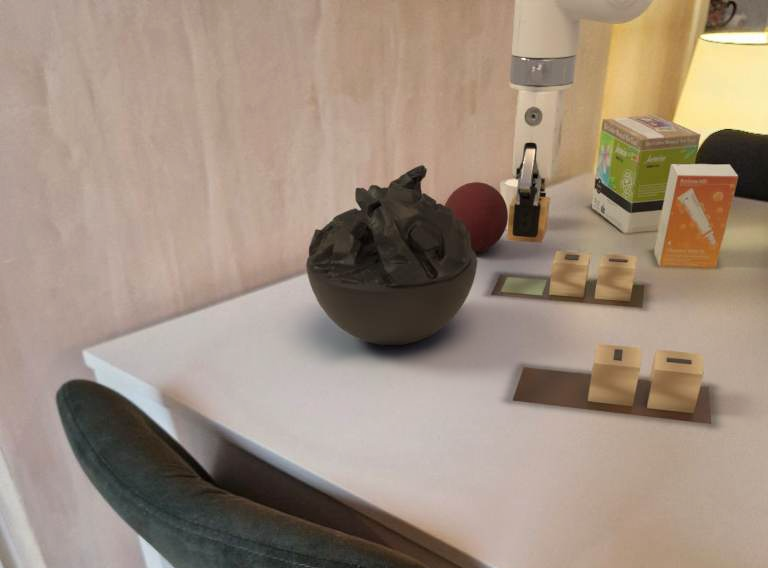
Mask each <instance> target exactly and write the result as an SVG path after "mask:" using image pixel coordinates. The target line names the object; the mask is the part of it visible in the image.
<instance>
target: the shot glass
mask: <svg viewBox="0 0 768 568" xmlns="http://www.w3.org/2000/svg"><path fill="white" fill-rule="evenodd" d="M517 187H518V179H517V180H516V179H515V178H514V177H510V178H506V179H503V180H501V181H500V183H499V189H500V190H499V193H500V194H501V195H502V197H503V198H504V200H505V203H506V206H507V211H508V219H509V206H510V204H511V202H512V200H513V198H514V197H515V195H517ZM505 231H508V221H507V226H506V229H505Z"/></svg>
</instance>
